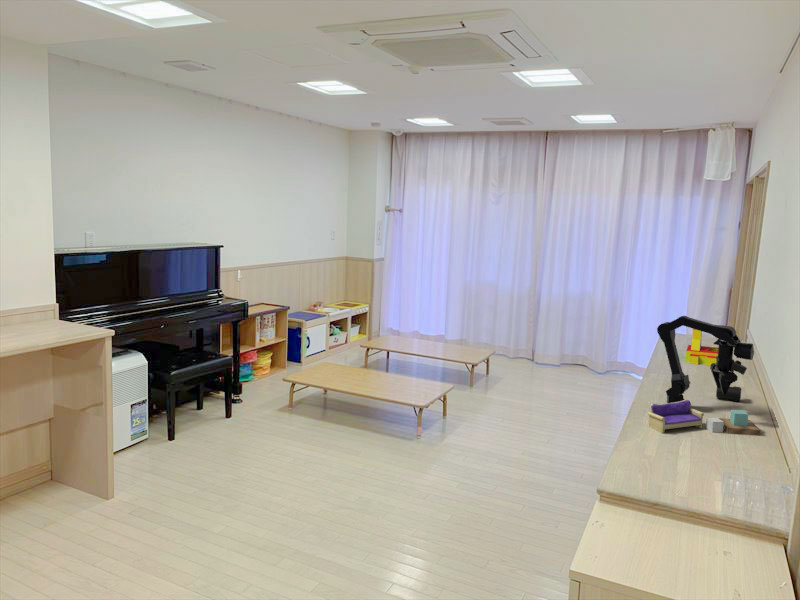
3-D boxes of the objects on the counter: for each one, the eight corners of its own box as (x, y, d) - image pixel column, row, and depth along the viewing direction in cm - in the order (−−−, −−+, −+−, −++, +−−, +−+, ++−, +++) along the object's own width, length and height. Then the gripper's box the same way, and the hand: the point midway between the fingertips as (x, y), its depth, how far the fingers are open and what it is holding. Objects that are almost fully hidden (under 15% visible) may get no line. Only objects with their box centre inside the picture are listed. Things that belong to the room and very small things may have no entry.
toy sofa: (661, 434, 245) (663, 409, 244) (646, 427, 253) (648, 403, 252) (703, 428, 251) (705, 404, 250) (688, 422, 259) (689, 398, 258)
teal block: (733, 425, 248) (734, 413, 247) (729, 421, 252) (730, 409, 252) (747, 426, 246) (748, 414, 246) (743, 422, 251) (744, 410, 251)
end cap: (715, 400, 290) (716, 386, 289) (717, 396, 295) (718, 383, 294) (739, 403, 284) (740, 389, 283) (741, 400, 290) (742, 386, 289)
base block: (727, 434, 245) (727, 427, 245) (718, 425, 257) (718, 418, 256) (759, 437, 243) (760, 429, 242) (749, 426, 254) (749, 420, 254)
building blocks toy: (684, 363, 362) (686, 333, 359) (687, 355, 383) (689, 326, 381) (720, 367, 353) (722, 336, 350) (721, 358, 374) (723, 329, 372)
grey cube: (712, 432, 246) (712, 421, 246) (705, 428, 251) (706, 418, 250) (722, 432, 247) (723, 421, 246) (716, 428, 251) (717, 418, 251)
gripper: (752, 362, 251) (749, 399, 253) (739, 352, 269) (735, 386, 271) (723, 360, 253) (719, 396, 255) (711, 350, 271) (708, 384, 273)
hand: (721, 390), depth 264 cm, fingers open, 9 cm apart
